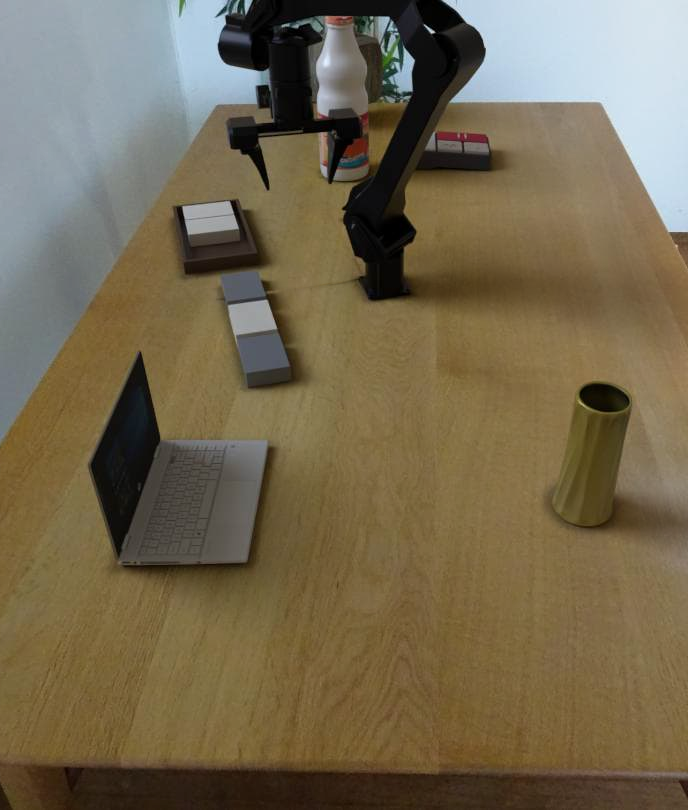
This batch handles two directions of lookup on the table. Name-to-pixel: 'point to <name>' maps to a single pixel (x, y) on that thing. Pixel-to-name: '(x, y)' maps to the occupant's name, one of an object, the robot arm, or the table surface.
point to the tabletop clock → (372, 57)
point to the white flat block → (252, 319)
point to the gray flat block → (264, 360)
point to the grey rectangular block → (242, 287)
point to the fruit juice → (343, 94)
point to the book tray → (216, 245)
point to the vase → (593, 453)
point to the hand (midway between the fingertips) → (299, 186)
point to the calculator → (456, 151)
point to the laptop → (172, 486)
